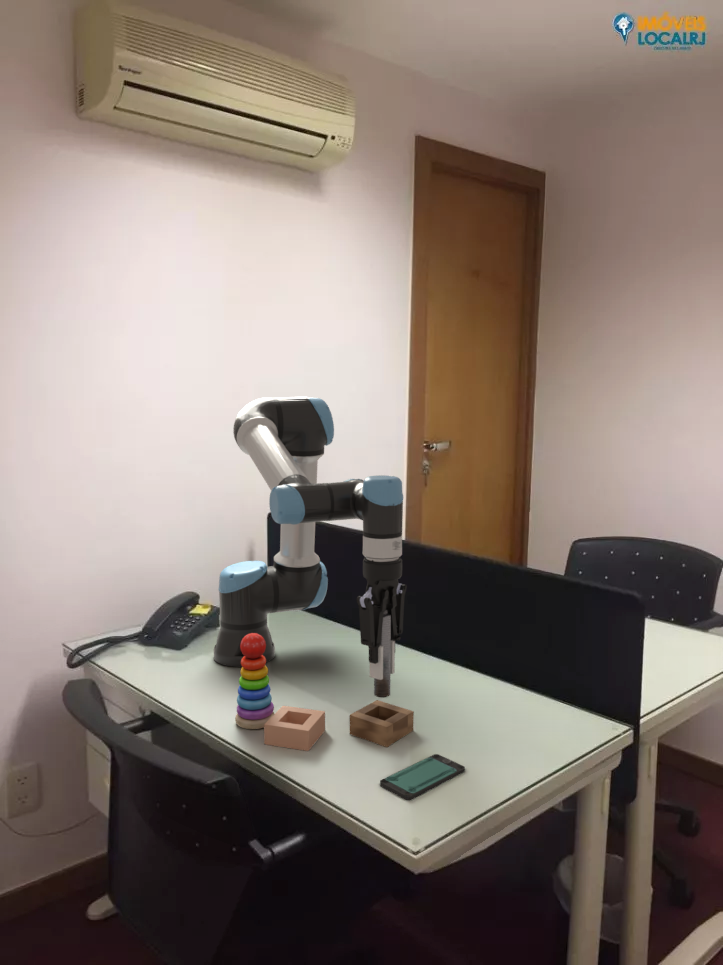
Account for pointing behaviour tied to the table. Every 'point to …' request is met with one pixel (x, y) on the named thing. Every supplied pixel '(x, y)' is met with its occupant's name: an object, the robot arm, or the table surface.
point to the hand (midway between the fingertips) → (382, 674)
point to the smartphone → (421, 777)
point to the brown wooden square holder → (381, 723)
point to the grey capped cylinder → (385, 658)
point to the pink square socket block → (294, 728)
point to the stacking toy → (253, 685)
